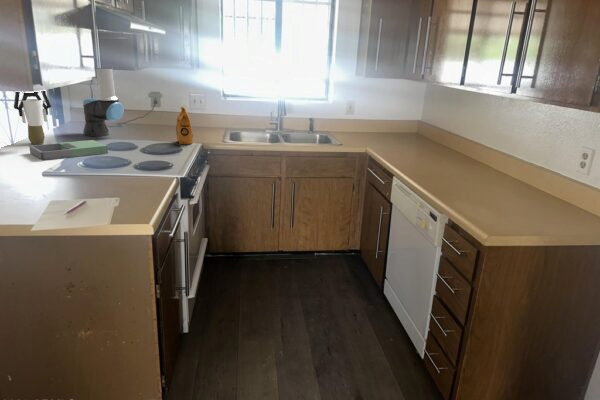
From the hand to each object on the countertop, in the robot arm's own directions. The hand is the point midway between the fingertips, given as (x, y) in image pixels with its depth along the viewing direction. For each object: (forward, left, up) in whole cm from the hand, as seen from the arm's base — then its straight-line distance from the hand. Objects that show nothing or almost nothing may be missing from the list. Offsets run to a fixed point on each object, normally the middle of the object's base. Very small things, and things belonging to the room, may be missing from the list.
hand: (35, 121), depth 226 cm
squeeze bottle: (-4, -16, -15) cm, 22 cm away
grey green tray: (-10, +17, -15) cm, 25 cm away
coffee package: (-76, +22, -15) cm, 80 cm away
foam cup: (0, 0, -2) cm, 2 cm away
